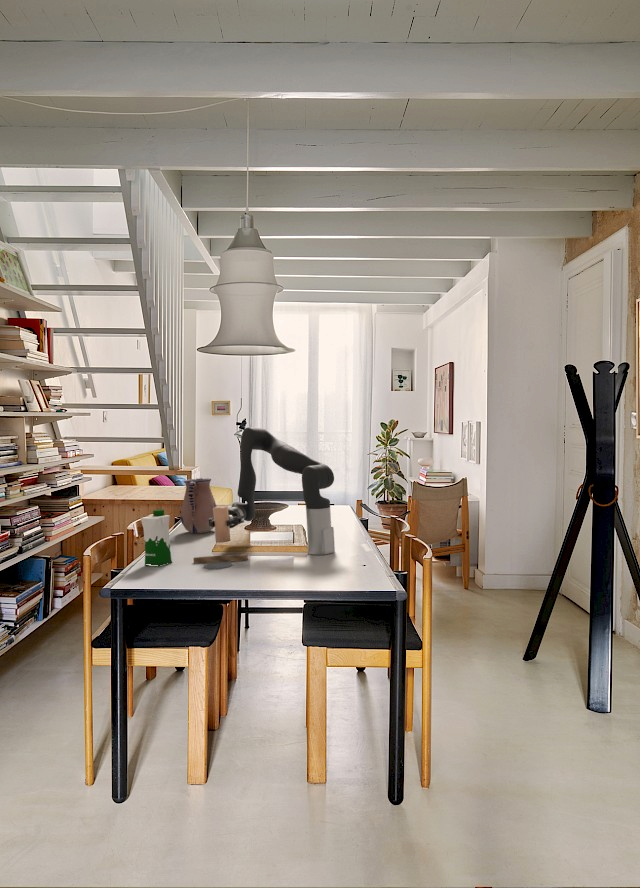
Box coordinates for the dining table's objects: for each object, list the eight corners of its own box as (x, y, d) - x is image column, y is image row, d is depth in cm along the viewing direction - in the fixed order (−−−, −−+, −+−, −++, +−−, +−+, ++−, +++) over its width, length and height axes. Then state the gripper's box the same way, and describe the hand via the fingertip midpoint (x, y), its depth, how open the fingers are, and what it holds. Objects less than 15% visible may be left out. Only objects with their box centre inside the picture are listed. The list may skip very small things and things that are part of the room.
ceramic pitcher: (220, 527, 348) (217, 476, 347) (217, 535, 327) (213, 480, 326) (183, 530, 347) (180, 478, 346) (178, 537, 326) (174, 482, 325)
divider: (248, 559, 268) (247, 554, 268) (247, 560, 267) (247, 554, 267) (194, 562, 268) (193, 557, 268) (193, 563, 267) (193, 558, 266)
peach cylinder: (233, 540, 275) (230, 506, 275) (222, 542, 271) (220, 508, 270) (223, 539, 279) (220, 506, 278) (212, 542, 274) (210, 508, 274)
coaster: (238, 564, 260) (238, 563, 260) (217, 570, 253) (217, 568, 253) (219, 561, 267) (218, 560, 267) (198, 567, 259) (198, 566, 259)
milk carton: (175, 562, 271) (171, 509, 270) (159, 567, 263) (155, 513, 262) (157, 561, 275) (153, 509, 274) (140, 566, 267) (137, 512, 266)
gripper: (214, 508, 290) (200, 514, 273) (248, 507, 287) (237, 513, 271) (215, 527, 290) (202, 534, 273) (250, 525, 288) (239, 532, 271)
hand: (219, 523), depth 272 cm, fingers closed on peach cylinder, 5 cm apart
